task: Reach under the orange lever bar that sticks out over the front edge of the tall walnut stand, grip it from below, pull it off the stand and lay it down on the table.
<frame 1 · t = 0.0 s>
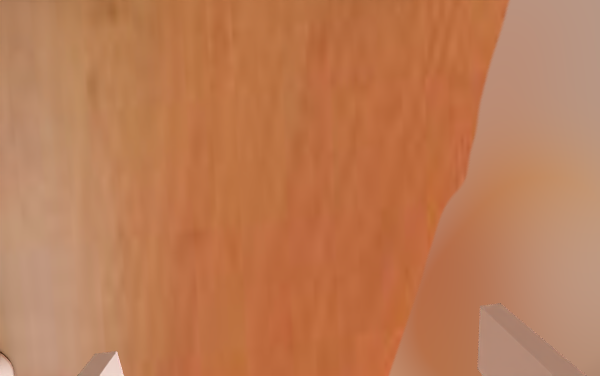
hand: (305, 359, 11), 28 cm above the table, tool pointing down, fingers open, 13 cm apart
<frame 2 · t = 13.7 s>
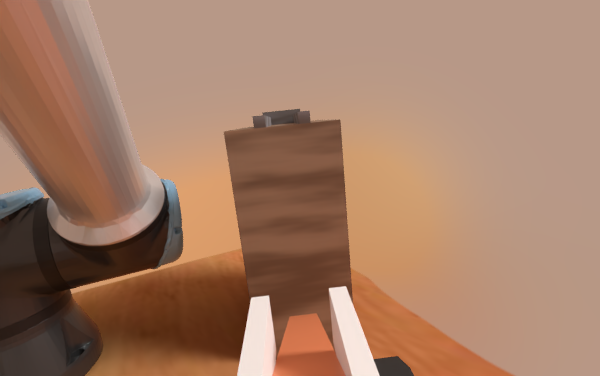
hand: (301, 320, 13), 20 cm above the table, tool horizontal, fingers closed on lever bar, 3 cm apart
stand: (303, 311, 46), on the table
when the fingers open (14 cm above the table, at t = 15.3 s): lever bar drops 9 cm, on the table.
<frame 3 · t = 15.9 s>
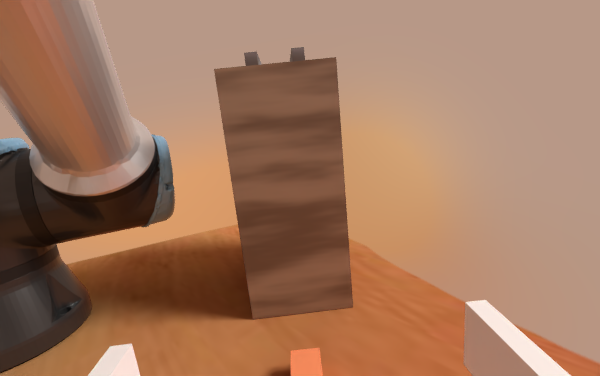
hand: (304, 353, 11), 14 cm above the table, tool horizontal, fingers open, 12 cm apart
stand: (299, 275, 44), on the table
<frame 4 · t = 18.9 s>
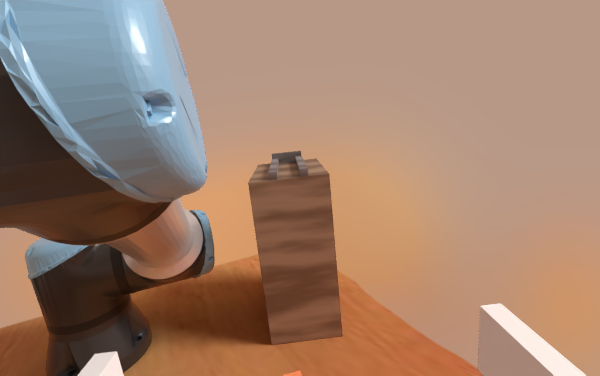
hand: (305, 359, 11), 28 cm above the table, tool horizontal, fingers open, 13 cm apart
stand: (303, 307, 59), on the table
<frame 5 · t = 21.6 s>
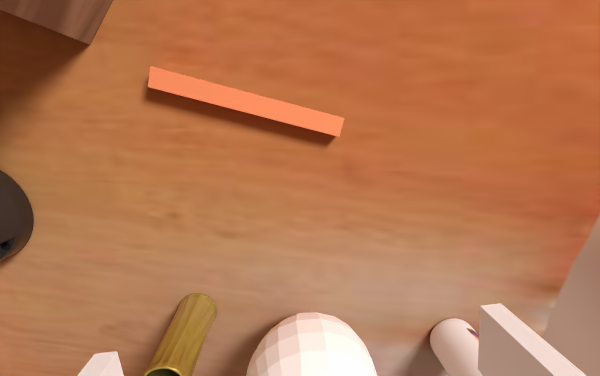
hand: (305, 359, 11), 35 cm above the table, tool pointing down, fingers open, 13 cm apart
milk bottle: (449, 335, 53), on the table
vase: (198, 309, 49), on the table
pitcher: (306, 338, 51), on the table
lever bar: (250, 103, 42), on the table
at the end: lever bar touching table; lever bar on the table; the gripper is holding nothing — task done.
